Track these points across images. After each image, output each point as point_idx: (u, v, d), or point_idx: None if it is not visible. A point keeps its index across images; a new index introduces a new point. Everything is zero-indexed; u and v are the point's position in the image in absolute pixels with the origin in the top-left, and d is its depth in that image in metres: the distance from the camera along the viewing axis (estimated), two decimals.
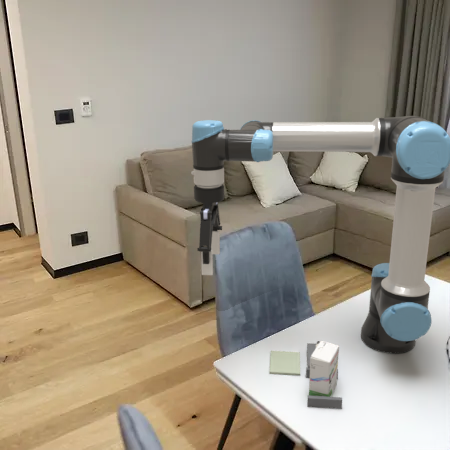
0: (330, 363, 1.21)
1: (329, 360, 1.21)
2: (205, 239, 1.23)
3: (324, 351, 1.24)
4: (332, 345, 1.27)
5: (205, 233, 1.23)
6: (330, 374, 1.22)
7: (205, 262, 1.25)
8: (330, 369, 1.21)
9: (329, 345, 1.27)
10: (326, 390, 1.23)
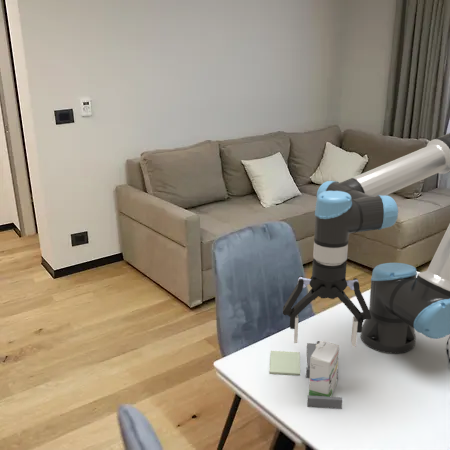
0: (330, 364, 1.21)
1: (329, 360, 1.21)
2: (287, 302, 1.21)
3: (324, 351, 1.24)
4: (332, 345, 1.27)
5: (290, 296, 1.21)
6: (330, 374, 1.22)
7: (290, 325, 1.23)
8: (330, 369, 1.21)
9: (329, 345, 1.27)
10: (326, 390, 1.23)
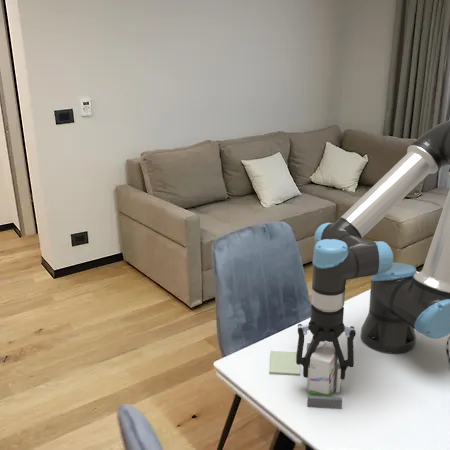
0: (330, 363, 1.21)
1: (329, 360, 1.21)
2: (297, 352, 1.25)
3: (324, 351, 1.24)
4: (332, 345, 1.27)
5: None
6: (330, 374, 1.22)
7: (303, 373, 1.27)
8: (330, 369, 1.21)
9: (329, 345, 1.27)
10: (326, 390, 1.23)
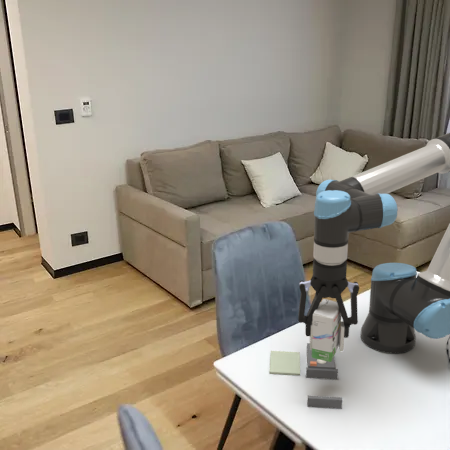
0: (334, 320, 1.17)
1: (332, 316, 1.17)
2: (299, 309, 1.21)
3: (327, 308, 1.20)
4: (335, 303, 1.23)
5: None
6: (333, 331, 1.18)
7: None
8: (333, 326, 1.18)
9: (332, 303, 1.23)
10: (329, 348, 1.19)
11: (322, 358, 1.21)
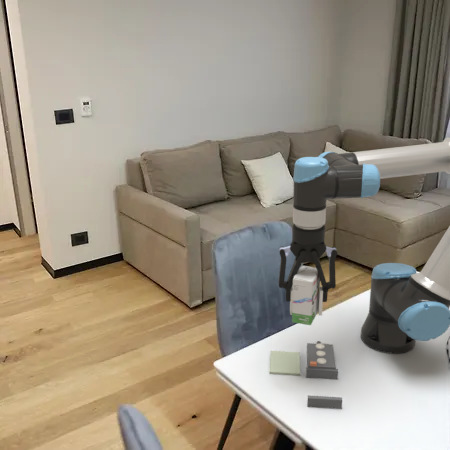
0: (313, 284, 1.21)
1: (312, 280, 1.21)
2: (279, 275, 1.25)
3: (306, 273, 1.24)
4: (314, 268, 1.26)
5: None
6: (313, 295, 1.22)
7: None
8: (313, 289, 1.21)
9: (311, 268, 1.26)
10: (309, 311, 1.22)
11: (302, 322, 1.24)
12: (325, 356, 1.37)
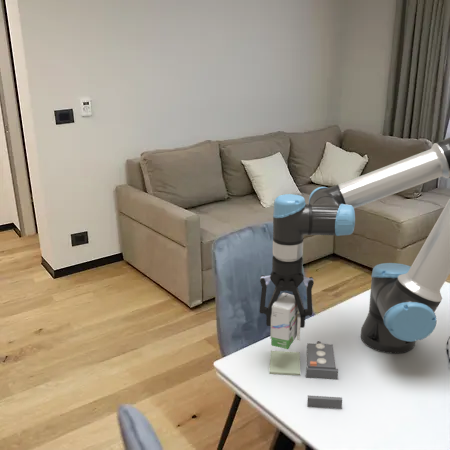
0: (290, 311, 1.30)
1: (289, 308, 1.30)
2: None
3: (285, 301, 1.33)
4: (293, 296, 1.36)
5: None
6: (290, 321, 1.31)
7: None
8: (290, 316, 1.30)
9: (290, 296, 1.36)
10: (287, 336, 1.32)
11: (280, 346, 1.33)
12: (325, 356, 1.37)
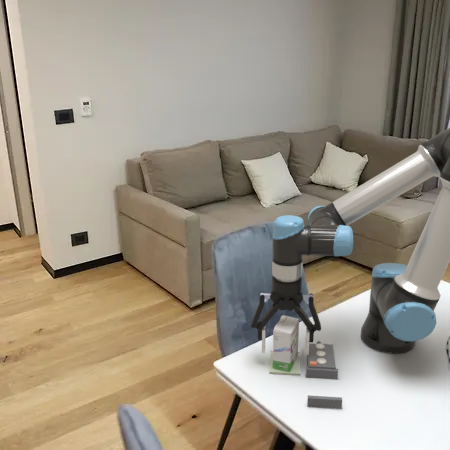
0: (291, 335, 1.32)
1: (290, 331, 1.32)
2: (254, 316, 1.36)
3: (286, 324, 1.35)
4: (293, 319, 1.38)
5: (256, 311, 1.35)
6: (291, 344, 1.33)
7: (258, 336, 1.38)
8: (291, 340, 1.33)
9: (290, 319, 1.38)
10: (288, 359, 1.34)
11: (282, 368, 1.35)
12: (325, 356, 1.37)
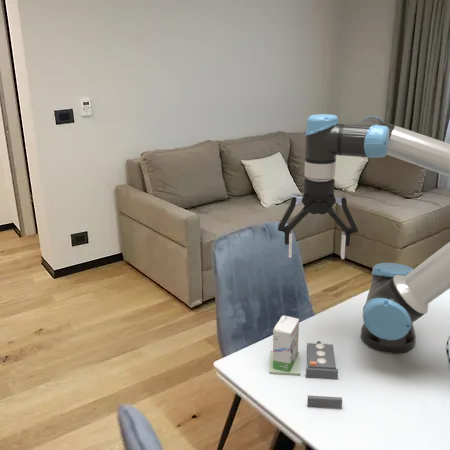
0: (291, 335, 1.32)
1: (290, 331, 1.32)
2: (282, 219, 1.33)
3: (286, 324, 1.35)
4: (293, 319, 1.38)
5: (285, 214, 1.33)
6: (291, 344, 1.33)
7: None
8: (291, 340, 1.33)
9: (290, 319, 1.38)
10: (288, 359, 1.34)
11: (282, 368, 1.35)
12: (325, 356, 1.37)
